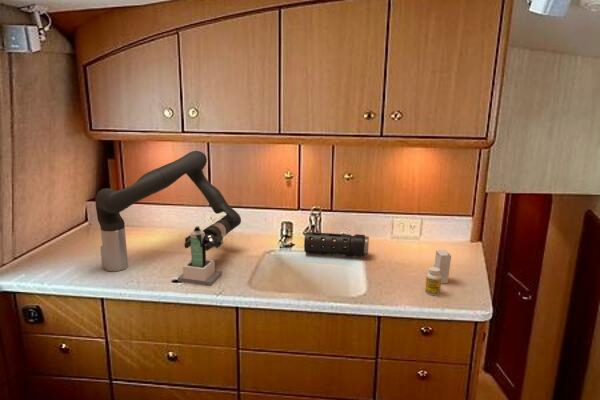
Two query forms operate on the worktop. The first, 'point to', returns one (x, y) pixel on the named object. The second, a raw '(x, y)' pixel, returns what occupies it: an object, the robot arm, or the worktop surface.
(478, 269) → the worktop surface
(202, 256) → the spray can
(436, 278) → the supplement bottle
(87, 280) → the worktop surface
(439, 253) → the skincare box
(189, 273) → the socket board
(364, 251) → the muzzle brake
